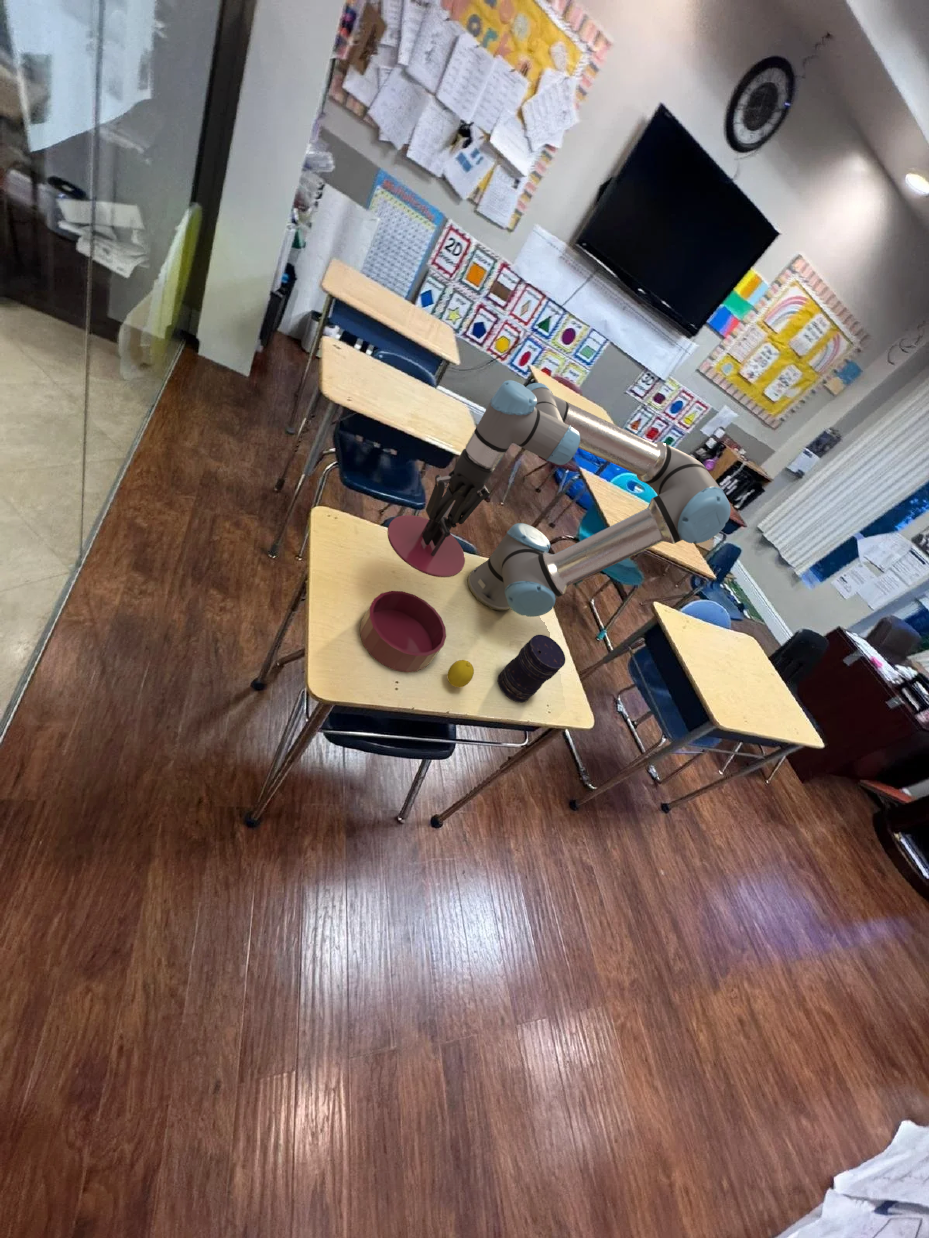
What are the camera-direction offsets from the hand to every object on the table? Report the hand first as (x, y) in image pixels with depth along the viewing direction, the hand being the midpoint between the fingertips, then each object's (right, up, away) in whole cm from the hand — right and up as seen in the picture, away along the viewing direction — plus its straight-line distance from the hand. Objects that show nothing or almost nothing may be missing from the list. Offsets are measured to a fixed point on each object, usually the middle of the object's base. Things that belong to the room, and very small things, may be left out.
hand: (429, 541), depth 118 cm
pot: (-8, -23, +2) cm, 24 cm away
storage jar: (+20, -35, +11) cm, 42 cm away
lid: (-1, -1, +1) cm, 2 cm away
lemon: (+5, -33, +1) cm, 33 cm away
